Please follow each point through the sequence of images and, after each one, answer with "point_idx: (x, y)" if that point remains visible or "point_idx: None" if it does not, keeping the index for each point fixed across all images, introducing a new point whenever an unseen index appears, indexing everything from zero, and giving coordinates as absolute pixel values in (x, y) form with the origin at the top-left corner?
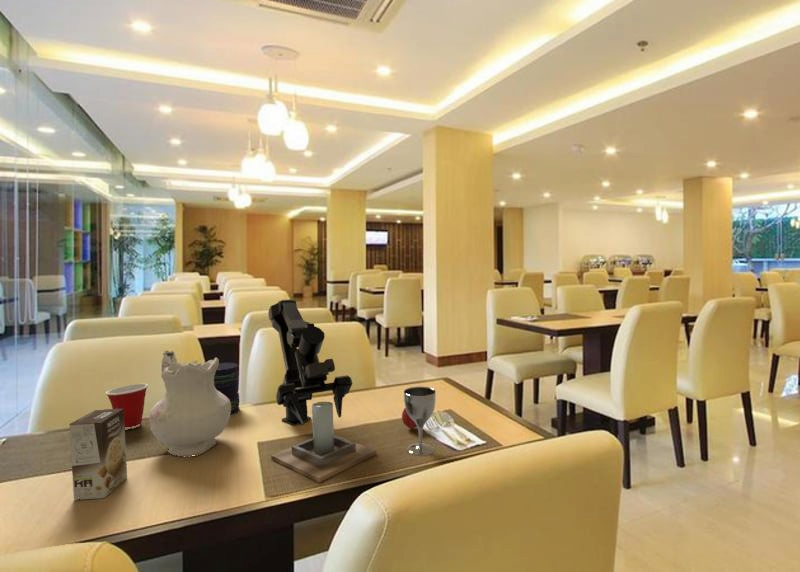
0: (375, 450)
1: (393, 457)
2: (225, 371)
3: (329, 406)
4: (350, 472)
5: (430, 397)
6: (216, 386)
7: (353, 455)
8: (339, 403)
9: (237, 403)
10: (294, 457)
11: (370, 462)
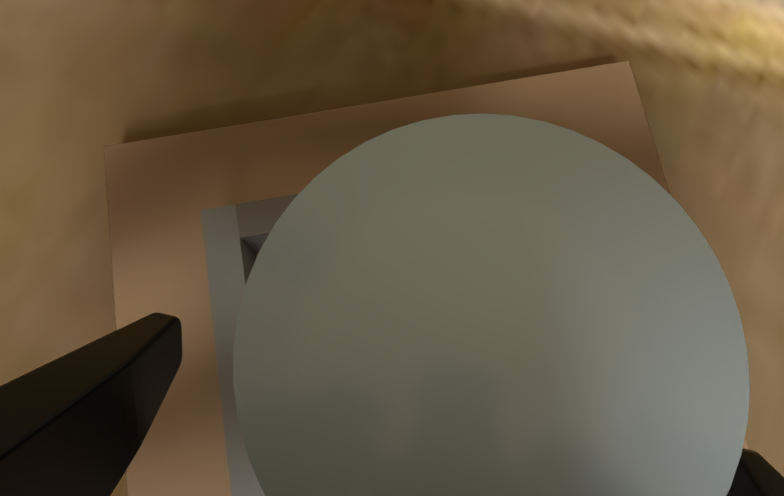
0: (108, 146)
1: (72, 49)
2: None
3: (418, 137)
4: (402, 62)
5: None
6: None
7: (279, 179)
8: (3, 426)
9: None
10: None
11: (227, 87)
